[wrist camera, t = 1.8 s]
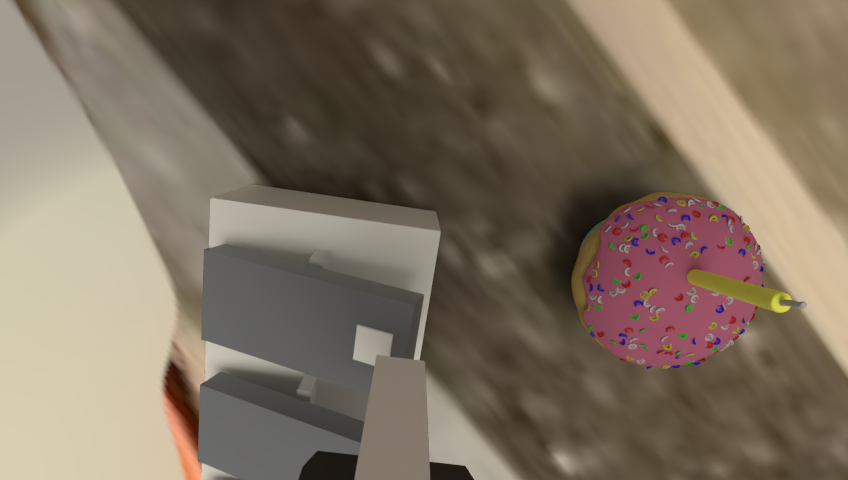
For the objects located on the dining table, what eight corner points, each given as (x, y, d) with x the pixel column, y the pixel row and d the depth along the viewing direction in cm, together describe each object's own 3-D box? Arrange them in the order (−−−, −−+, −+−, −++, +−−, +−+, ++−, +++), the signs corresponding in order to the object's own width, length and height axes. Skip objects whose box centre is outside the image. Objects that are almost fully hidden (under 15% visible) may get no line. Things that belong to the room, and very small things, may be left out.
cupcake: (532, 207, 24) (646, 279, 12) (682, 161, 23) (954, 189, 11) (565, 341, 26) (691, 513, 14) (704, 300, 25) (953, 444, 13)
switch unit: (248, 183, 23) (186, 202, 17) (435, 211, 23) (443, 239, 17) (232, 486, 28) (179, 588, 21) (388, 503, 28) (380, 607, 22)
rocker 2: (220, 371, 20) (198, 385, 18) (401, 434, 17) (389, 455, 16) (217, 444, 20) (196, 462, 19) (388, 512, 18) (376, 538, 17)
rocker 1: (226, 243, 18) (202, 249, 17) (424, 294, 16) (413, 305, 15) (222, 328, 19) (199, 340, 18) (409, 387, 17) (397, 405, 16)
